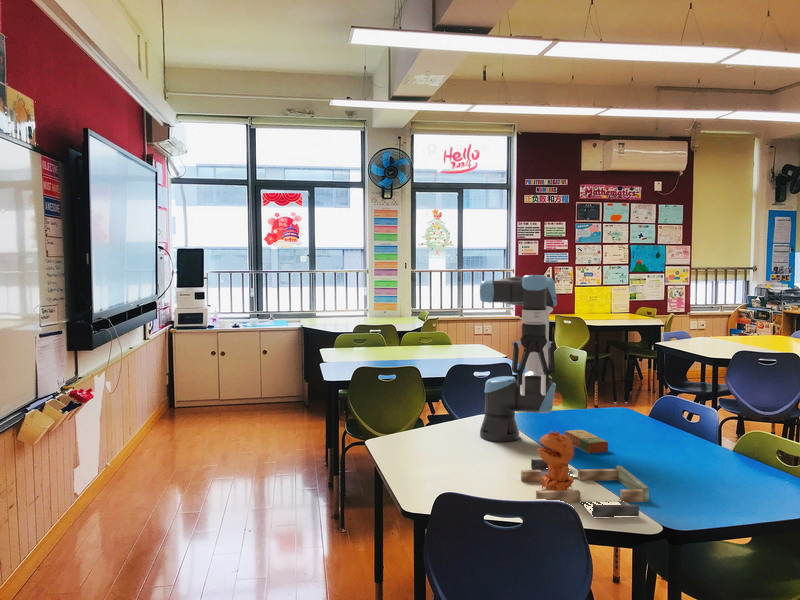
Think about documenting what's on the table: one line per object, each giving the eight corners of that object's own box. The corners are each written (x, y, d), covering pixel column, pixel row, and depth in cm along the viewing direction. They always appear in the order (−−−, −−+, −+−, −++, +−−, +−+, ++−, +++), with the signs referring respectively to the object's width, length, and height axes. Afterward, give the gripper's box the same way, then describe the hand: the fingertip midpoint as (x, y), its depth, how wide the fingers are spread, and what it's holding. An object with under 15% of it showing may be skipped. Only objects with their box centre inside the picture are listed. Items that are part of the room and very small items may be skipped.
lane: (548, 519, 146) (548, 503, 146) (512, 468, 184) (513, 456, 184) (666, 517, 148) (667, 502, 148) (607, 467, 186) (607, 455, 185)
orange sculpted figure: (531, 484, 171) (532, 425, 170) (566, 483, 172) (567, 424, 171) (543, 498, 160) (544, 436, 159) (581, 497, 161) (582, 435, 160)
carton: (583, 439, 218) (583, 429, 217) (608, 452, 202) (609, 441, 202) (564, 441, 215) (564, 430, 215) (588, 454, 200) (588, 442, 200)
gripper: (507, 324, 176) (506, 397, 177) (567, 324, 177) (565, 397, 178) (501, 322, 183) (500, 392, 185) (559, 322, 184) (558, 392, 185)
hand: (532, 394), depth 181 cm, fingers open, 6 cm apart
